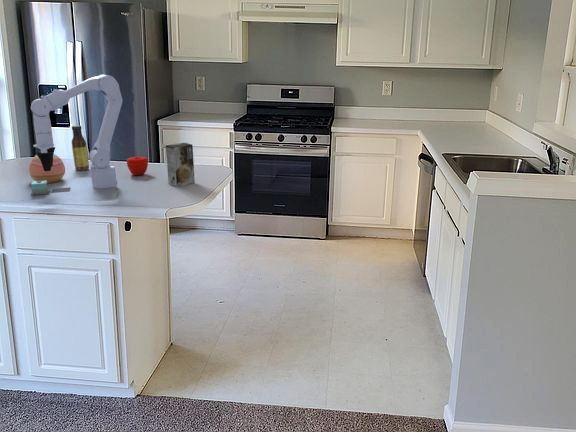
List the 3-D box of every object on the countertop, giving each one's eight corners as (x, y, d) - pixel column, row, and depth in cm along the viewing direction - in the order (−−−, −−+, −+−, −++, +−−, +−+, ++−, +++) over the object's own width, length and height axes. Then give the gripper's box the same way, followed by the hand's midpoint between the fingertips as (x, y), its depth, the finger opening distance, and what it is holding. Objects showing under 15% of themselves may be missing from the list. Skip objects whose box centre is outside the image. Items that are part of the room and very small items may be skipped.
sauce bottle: (92, 169, 258) (87, 125, 253) (81, 171, 253) (76, 127, 248) (83, 167, 262) (78, 124, 256) (71, 169, 257) (66, 126, 251)
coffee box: (186, 180, 237) (184, 142, 232) (195, 183, 232) (193, 144, 228) (167, 184, 231) (165, 144, 226) (176, 186, 226) (174, 146, 222)
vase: (73, 180, 236) (68, 139, 231) (52, 188, 223) (46, 144, 218) (45, 179, 239) (40, 137, 234) (23, 186, 227) (17, 142, 222)
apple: (133, 178, 241) (132, 160, 239) (124, 174, 247) (122, 157, 245) (152, 175, 247) (151, 157, 244) (143, 171, 253) (141, 154, 251)
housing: (48, 190, 214) (46, 179, 213) (47, 194, 210) (45, 182, 209) (34, 191, 213) (32, 180, 212) (32, 195, 208) (31, 183, 207)
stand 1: (51, 193, 216) (50, 190, 215) (49, 197, 210) (49, 194, 209) (32, 194, 214) (32, 191, 213) (30, 199, 208) (30, 195, 207)
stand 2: (71, 190, 220) (70, 187, 220) (70, 194, 214) (69, 191, 214) (53, 191, 219) (52, 188, 218) (51, 195, 213) (51, 192, 212)
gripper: (34, 130, 212) (39, 165, 216) (29, 136, 199) (34, 173, 203) (54, 129, 215) (58, 164, 219) (50, 135, 201) (55, 172, 205)
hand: (48, 168), depth 211 cm, fingers open, 7 cm apart
